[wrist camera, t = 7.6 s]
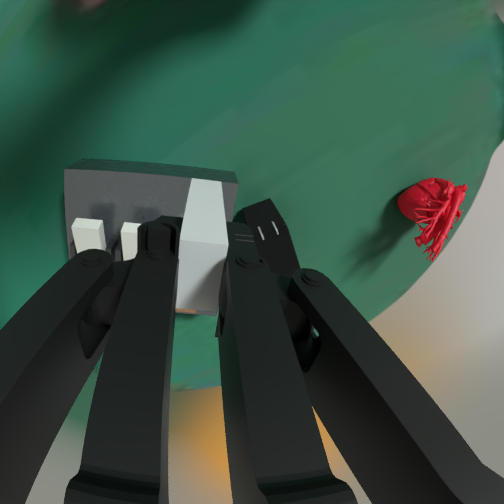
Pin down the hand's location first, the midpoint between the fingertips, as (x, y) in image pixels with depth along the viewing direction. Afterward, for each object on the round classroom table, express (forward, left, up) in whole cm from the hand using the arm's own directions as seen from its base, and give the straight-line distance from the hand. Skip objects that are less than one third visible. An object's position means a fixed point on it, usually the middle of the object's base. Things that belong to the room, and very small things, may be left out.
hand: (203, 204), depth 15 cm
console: (+13, -6, -24) cm, 28 cm away
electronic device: (+11, +10, -24) cm, 28 cm away
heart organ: (+1, +34, -24) cm, 42 cm away
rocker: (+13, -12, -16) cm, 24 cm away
